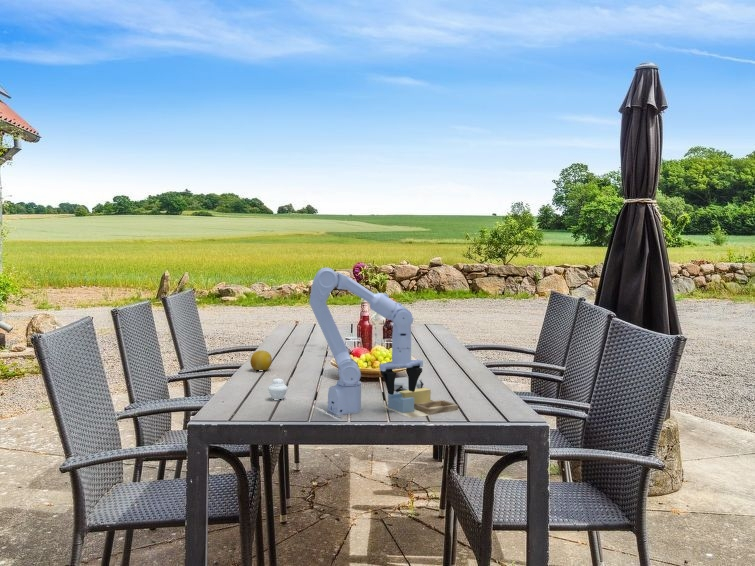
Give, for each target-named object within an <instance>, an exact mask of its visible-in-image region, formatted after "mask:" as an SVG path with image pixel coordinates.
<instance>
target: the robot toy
mask: <svg viewBox="0 0 755 566" xmlns="http://www.w3.org/2000/svg"><path fill="white" fill-rule="evenodd" d="M424 384H425V383H424V382H423V379H422V377H420V379H419V378H418V381H417V384H416V387H415V389H420V388H424ZM405 390H409V387H408V376H407V377H406V376H405V377H395V382H394V393H399V391H405Z"/></svg>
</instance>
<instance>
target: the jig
mask: <svg viewBox="0 0 755 566" xmlns="http://www.w3.org/2000/svg"><path fill="white" fill-rule="evenodd" d="M381 407H382V408H385V409H387V410H390V411H391V412H395V413H397V414H399V415H402V416H405V417H407V418H410V419H413V418H415V419H416V418H420V417H421V418H422V417H425V416H426V417H427V416H433V415H437V414H438V415H439V414H444V413H449V412H455V411H456V412H457V411H460V409H459V404H456V403H453V402H450V401H448V400H445V399H439V400H432V399H430V402H425V403H418V404H414V411H413V412H407V413H401V412H399V411H396V410H394V409H391V408H389V407H388V404H387V405H381Z"/></svg>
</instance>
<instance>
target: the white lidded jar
mask: <svg viewBox="0 0 755 566" xmlns="http://www.w3.org/2000/svg"><path fill="white" fill-rule="evenodd" d="M287 392H288V386H287V385H286V384H285V383H284V380H283V379H282V378H279V377H277V378H273V380H272V381H271V384H270V385H269V386H268V393H269V395H270V397H271V399H272V400H273V399H278V400H277V401H280V400H279V399H282V400H284V398H285V396H286V394H287Z"/></svg>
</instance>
